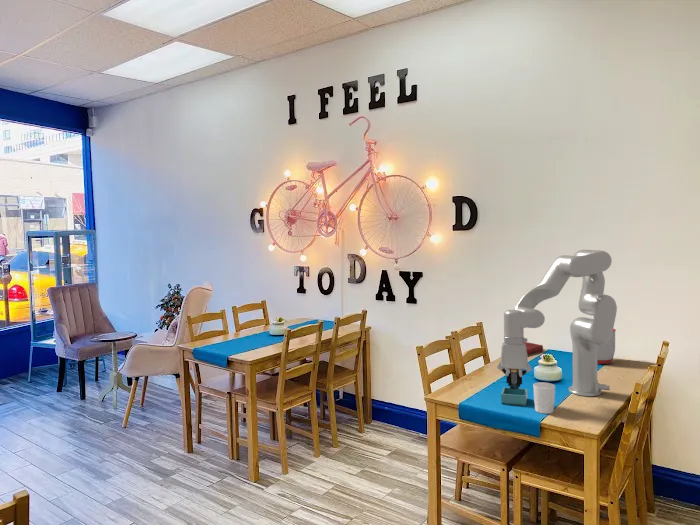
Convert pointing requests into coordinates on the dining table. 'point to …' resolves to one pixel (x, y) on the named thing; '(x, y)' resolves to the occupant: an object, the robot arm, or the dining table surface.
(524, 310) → the robot arm
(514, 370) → the cell
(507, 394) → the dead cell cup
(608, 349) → the citrus juicer
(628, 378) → the dining table surface
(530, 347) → the hardcover book
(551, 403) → the white cup
